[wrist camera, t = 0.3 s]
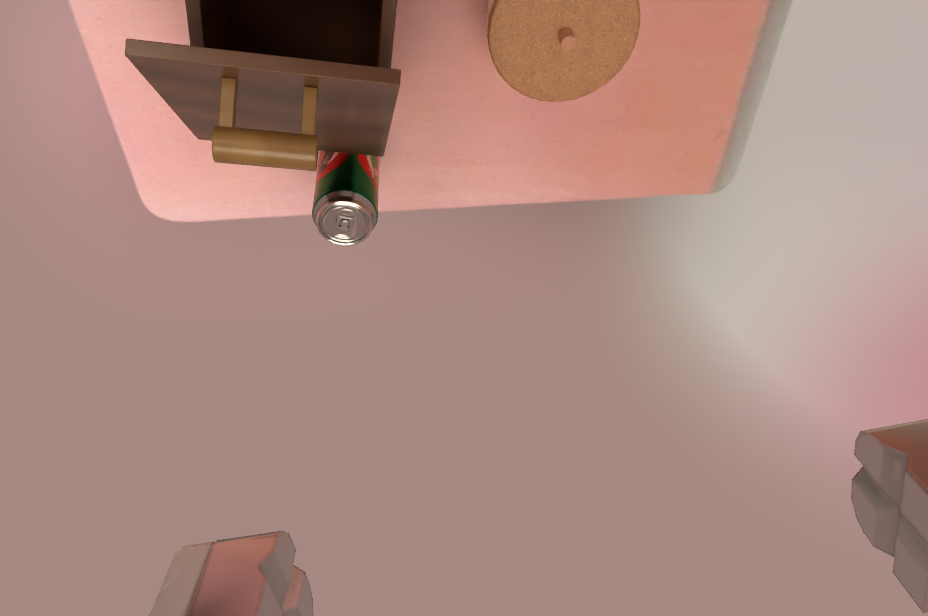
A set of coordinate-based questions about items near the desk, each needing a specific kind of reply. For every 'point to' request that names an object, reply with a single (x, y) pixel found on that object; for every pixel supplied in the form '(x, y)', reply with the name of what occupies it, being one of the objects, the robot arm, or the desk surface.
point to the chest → (297, 28)
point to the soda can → (346, 196)
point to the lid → (271, 102)
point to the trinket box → (561, 44)
